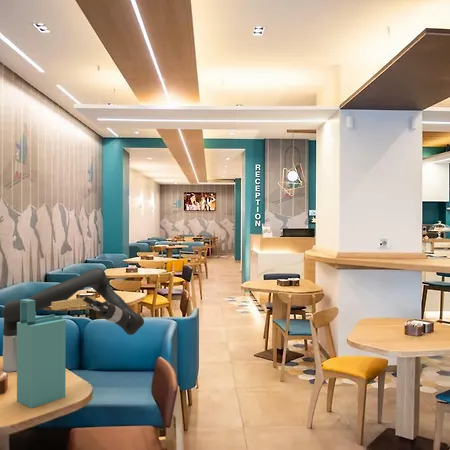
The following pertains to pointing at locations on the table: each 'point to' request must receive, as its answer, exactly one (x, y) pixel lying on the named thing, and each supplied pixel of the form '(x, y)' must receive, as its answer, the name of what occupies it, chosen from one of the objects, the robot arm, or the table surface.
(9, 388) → the table surface
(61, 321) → the teal brick phone
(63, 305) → the wooden bar
